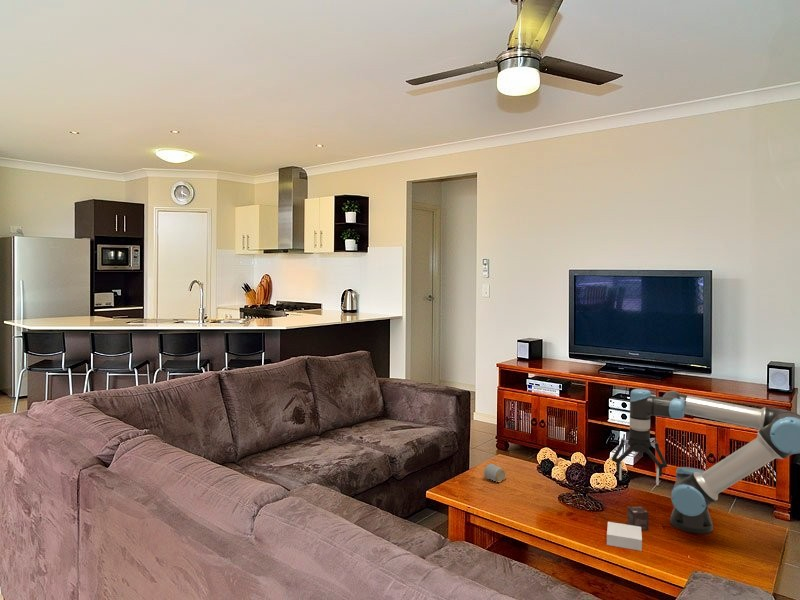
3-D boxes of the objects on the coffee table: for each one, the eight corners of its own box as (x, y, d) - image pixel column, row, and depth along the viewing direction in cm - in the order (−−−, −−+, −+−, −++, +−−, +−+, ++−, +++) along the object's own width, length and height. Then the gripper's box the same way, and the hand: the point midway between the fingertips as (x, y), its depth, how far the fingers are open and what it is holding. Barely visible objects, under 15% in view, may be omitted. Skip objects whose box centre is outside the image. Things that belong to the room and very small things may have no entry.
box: (641, 524, 226) (642, 506, 226) (648, 530, 220) (649, 512, 220) (626, 524, 226) (627, 506, 226) (633, 530, 220) (634, 512, 220)
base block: (640, 537, 214) (641, 526, 214) (641, 550, 203) (641, 540, 203) (607, 531, 219) (607, 521, 219) (606, 544, 208) (606, 534, 208)
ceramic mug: (496, 485, 269) (496, 469, 269) (483, 480, 275) (484, 464, 275) (510, 480, 275) (511, 465, 275) (497, 476, 282) (498, 460, 282)
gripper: (673, 429, 221) (672, 482, 221) (606, 423, 230) (605, 474, 231) (675, 434, 214) (674, 489, 214) (606, 427, 223) (605, 480, 224)
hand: (638, 481), depth 222 cm, fingers open, 13 cm apart
